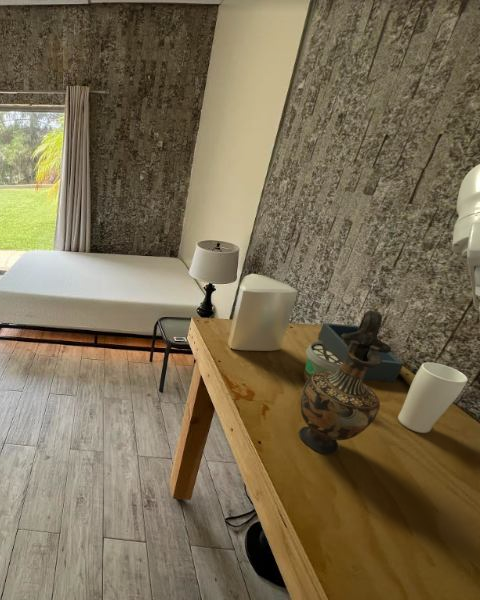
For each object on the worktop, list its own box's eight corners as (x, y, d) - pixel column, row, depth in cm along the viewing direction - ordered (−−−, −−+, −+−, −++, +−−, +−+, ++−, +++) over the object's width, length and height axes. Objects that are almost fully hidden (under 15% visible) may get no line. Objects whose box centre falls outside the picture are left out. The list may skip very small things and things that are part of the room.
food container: (288, 369, 90) (297, 339, 86) (310, 369, 90) (321, 339, 86) (315, 399, 79) (328, 367, 75) (340, 400, 79) (355, 367, 75)
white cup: (420, 440, 68) (454, 385, 62) (385, 417, 74) (413, 365, 67) (441, 433, 70) (477, 378, 63) (406, 411, 75) (435, 359, 69)
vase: (282, 442, 68) (326, 320, 55) (296, 410, 76) (337, 298, 63) (350, 476, 61) (419, 345, 48) (358, 437, 69) (419, 317, 56)
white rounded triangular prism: (231, 351, 99) (245, 286, 90) (216, 328, 112) (227, 269, 102) (281, 352, 98) (301, 287, 89) (260, 328, 111) (276, 269, 101)
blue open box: (354, 342, 102) (361, 326, 100) (394, 382, 85) (403, 364, 82) (317, 338, 104) (323, 322, 102) (349, 377, 87) (357, 359, 84)
